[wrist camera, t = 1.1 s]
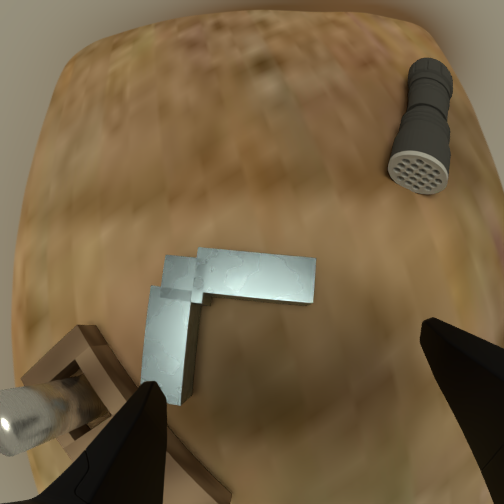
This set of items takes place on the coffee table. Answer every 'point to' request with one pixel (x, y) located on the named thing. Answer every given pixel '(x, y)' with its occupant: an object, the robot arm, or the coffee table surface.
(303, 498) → the coffee table surface
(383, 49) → the coffee table surface
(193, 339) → the v block
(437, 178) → the flashlight
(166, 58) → the coffee table surface
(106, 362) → the slotted block
